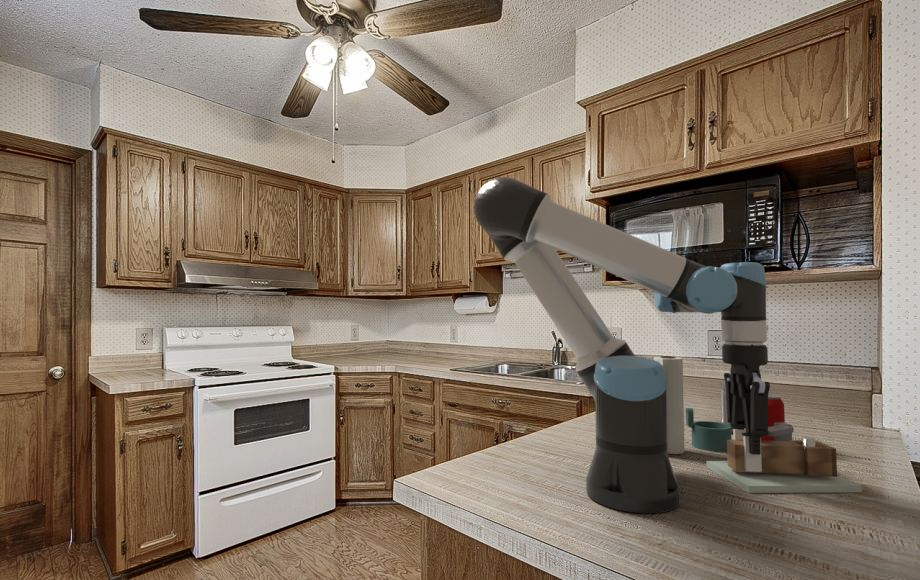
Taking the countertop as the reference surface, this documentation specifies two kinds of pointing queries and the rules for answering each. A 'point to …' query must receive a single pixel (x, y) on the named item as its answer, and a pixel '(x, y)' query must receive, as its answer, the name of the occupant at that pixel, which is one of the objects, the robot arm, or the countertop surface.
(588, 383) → the robot arm
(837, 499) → the countertop surface
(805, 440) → the cylinder
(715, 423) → the teal hollow cylinder
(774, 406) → the beverage can
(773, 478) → the base board
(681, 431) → the paper towel roll
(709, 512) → the countertop surface
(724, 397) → the screw
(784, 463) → the link
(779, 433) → the keeper
